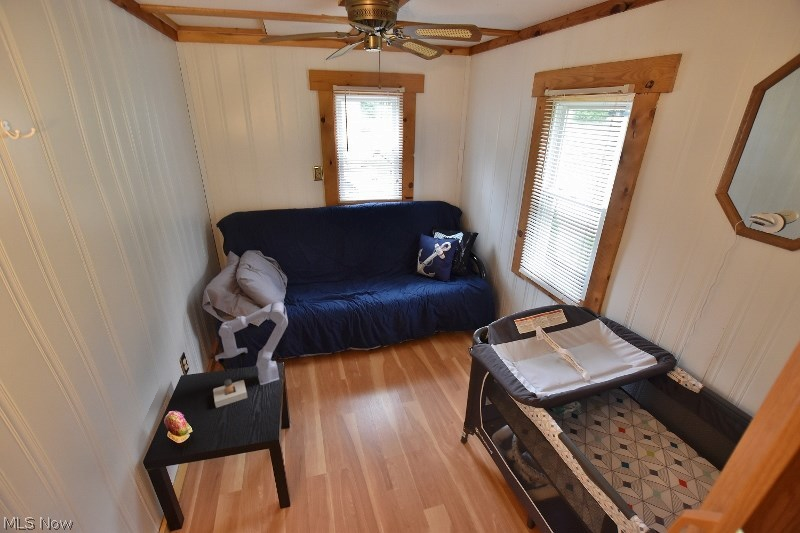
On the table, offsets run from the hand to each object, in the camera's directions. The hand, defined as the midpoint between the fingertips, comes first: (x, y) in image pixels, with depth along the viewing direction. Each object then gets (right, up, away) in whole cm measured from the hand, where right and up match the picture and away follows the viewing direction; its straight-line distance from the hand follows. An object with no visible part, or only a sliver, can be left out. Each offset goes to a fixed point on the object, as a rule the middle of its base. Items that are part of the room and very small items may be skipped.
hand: (234, 367), depth 185 cm
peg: (+1, -13, -5) cm, 14 cm away
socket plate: (+1, -13, -5) cm, 14 cm away
